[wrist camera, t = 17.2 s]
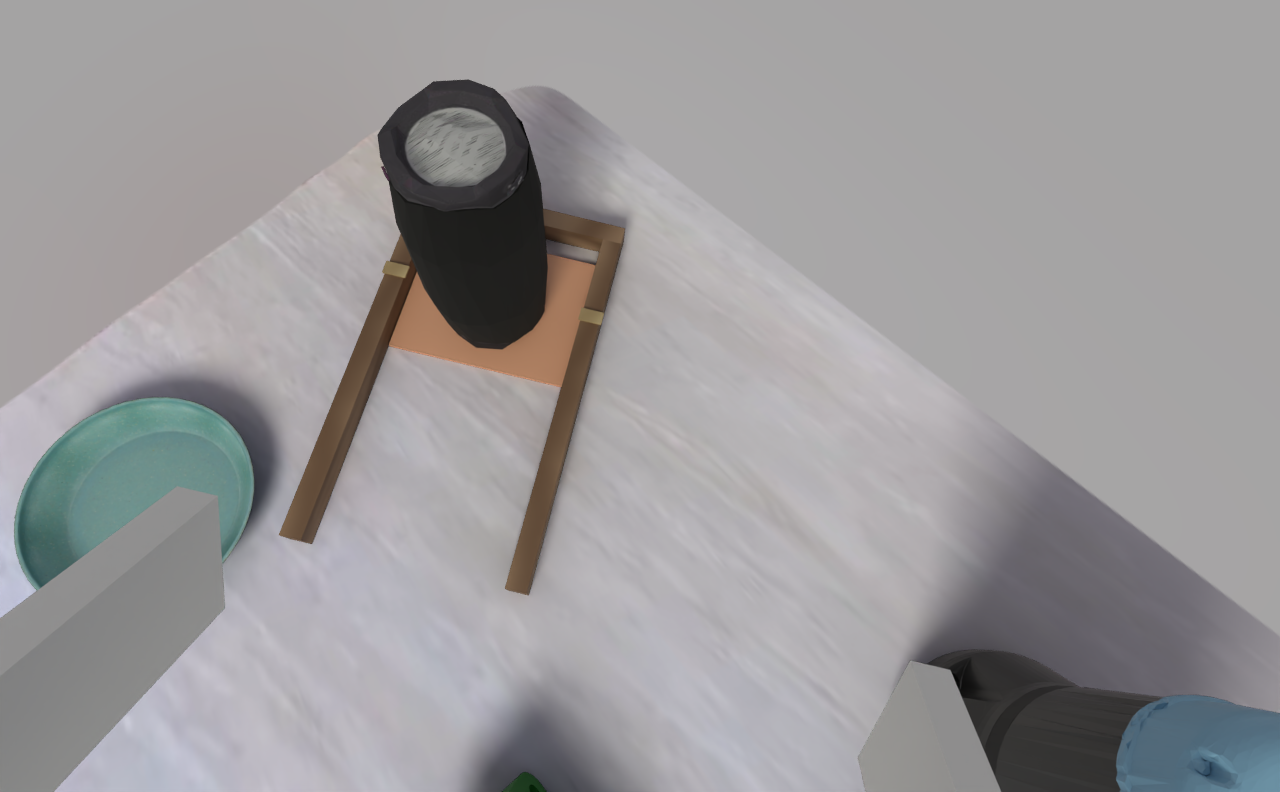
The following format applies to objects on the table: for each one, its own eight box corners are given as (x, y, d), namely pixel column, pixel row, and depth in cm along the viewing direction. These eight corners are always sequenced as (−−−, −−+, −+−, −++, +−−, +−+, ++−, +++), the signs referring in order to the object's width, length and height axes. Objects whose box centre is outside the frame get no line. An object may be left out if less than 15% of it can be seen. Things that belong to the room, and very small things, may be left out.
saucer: (189, 369, 50) (169, 355, 48) (314, 507, 48) (300, 501, 45) (-2, 508, 46) (-35, 501, 43) (124, 669, 43) (97, 671, 41)
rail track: (625, 242, 57) (627, 227, 55) (530, 595, 47) (528, 594, 45) (426, 194, 57) (420, 177, 55) (288, 538, 47) (275, 534, 45)
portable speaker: (431, 353, 52) (348, 199, 33) (454, 248, 55) (390, 55, 37) (541, 366, 52) (520, 221, 34) (558, 262, 55) (547, 77, 37)
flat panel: (596, 267, 56) (596, 265, 56) (563, 387, 52) (562, 386, 52) (435, 228, 56) (434, 226, 55) (389, 346, 52) (388, 344, 52)
